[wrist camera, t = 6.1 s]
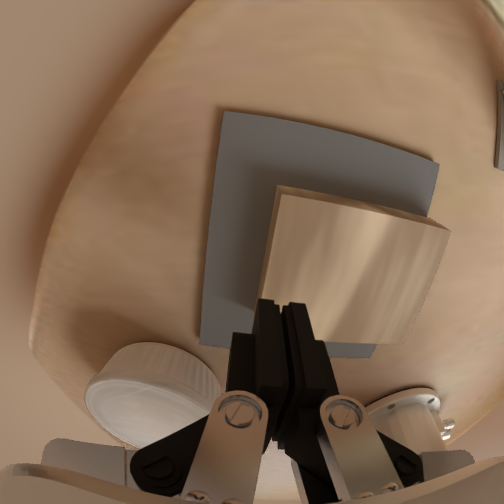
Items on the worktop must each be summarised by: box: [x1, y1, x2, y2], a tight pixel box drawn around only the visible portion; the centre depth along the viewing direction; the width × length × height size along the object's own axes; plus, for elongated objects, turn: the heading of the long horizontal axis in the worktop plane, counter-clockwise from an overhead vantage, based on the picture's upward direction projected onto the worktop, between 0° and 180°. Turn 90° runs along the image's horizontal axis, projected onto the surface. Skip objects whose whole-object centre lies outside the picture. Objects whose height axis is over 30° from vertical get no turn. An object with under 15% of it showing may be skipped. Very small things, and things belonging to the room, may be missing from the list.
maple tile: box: [254, 185, 451, 344], centre depth 16 cm, size 2×8×10 cm
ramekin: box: [84, 342, 221, 449], centre depth 19 cm, size 11×11×5 cm
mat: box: [199, 111, 440, 358], centre depth 17 cm, size 13×15×1 cm
